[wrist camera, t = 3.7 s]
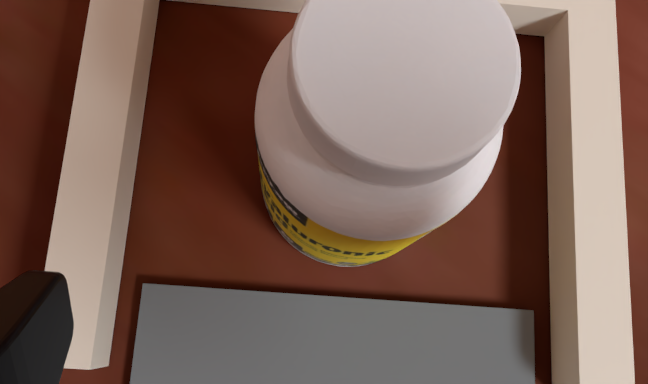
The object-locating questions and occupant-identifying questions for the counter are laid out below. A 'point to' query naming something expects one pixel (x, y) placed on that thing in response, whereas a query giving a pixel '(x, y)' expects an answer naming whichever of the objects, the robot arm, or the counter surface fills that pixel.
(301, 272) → the counter surface
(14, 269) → the counter surface
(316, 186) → the supplement bottle
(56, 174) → the counter surface
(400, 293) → the counter surface
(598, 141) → the white u-shaped bracket
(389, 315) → the mat
